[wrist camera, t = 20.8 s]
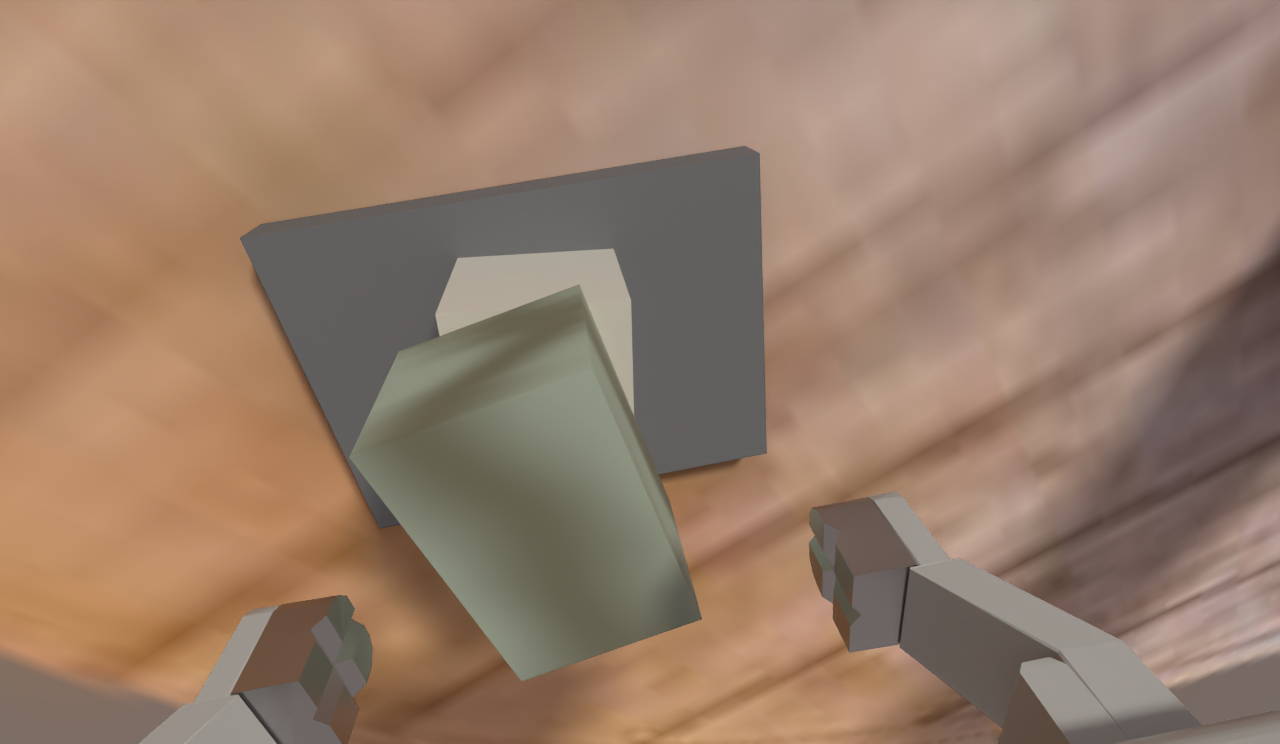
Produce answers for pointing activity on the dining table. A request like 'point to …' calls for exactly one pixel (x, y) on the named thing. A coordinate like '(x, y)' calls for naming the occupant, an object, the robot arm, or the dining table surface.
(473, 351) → the sage brick
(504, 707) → the dining table surface
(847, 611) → the robot arm
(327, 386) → the base plate
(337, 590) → the dining table surface
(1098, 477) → the dining table surface
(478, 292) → the cream brick
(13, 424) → the dining table surface
